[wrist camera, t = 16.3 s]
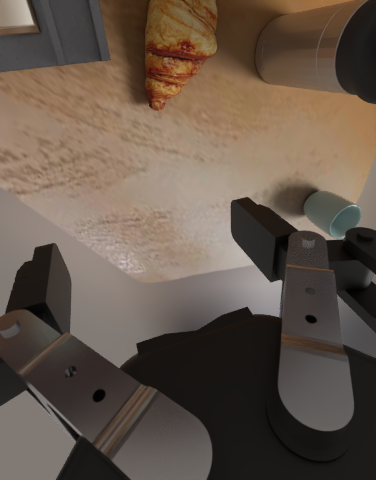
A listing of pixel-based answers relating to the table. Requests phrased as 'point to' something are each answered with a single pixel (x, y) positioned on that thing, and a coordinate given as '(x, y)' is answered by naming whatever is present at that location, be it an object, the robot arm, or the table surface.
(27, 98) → the table surface
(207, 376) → the robot arm
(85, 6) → the rack
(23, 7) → the offcut upper
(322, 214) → the cup
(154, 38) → the croissant
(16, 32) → the offcut lower
